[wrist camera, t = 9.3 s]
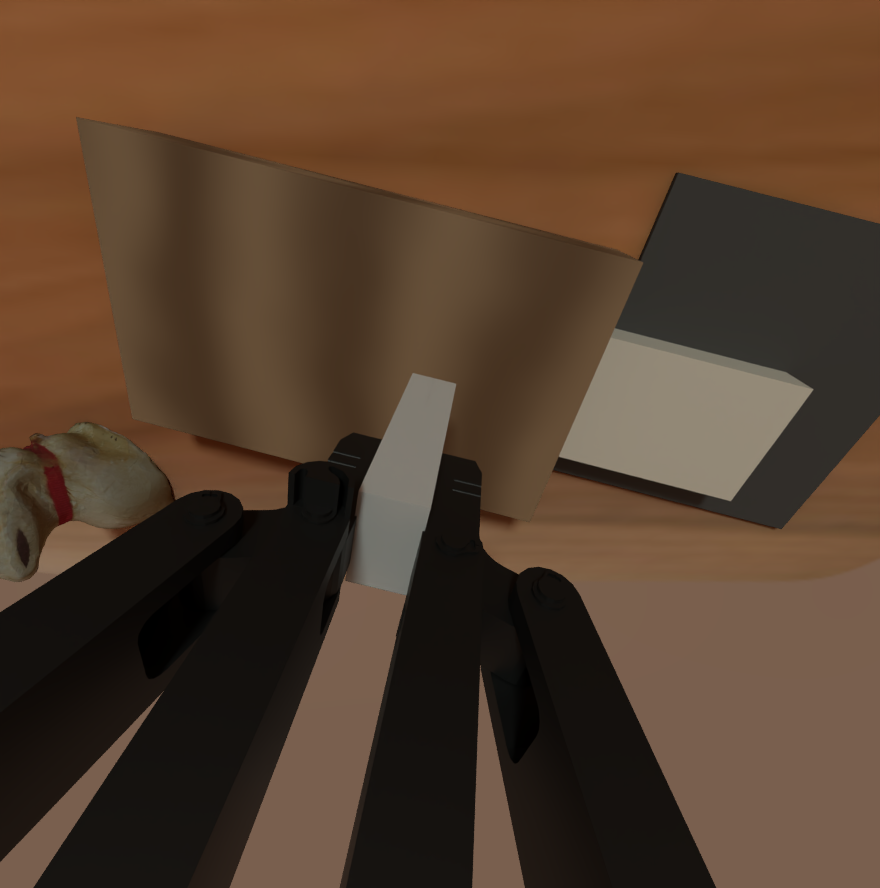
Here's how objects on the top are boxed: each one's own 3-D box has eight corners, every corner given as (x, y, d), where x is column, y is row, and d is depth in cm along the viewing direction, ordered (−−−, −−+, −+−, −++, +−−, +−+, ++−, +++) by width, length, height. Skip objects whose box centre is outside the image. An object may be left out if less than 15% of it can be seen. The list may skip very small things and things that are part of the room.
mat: (549, 466, 24) (550, 469, 23) (676, 173, 16) (678, 172, 16) (778, 525, 23) (781, 529, 23) (1006, 257, 16) (1015, 258, 16)
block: (546, 434, 22) (549, 454, 21) (591, 322, 19) (599, 334, 17) (713, 477, 22) (730, 501, 20) (786, 372, 19) (813, 389, 17)
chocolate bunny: (124, 404, 25) (-70, 510, 17) (187, 508, 29) (53, 637, 21) (52, 415, 27) (-163, 519, 18) (121, 513, 30) (-31, 638, 22)
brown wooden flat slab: (185, 387, 24) (132, 418, 21) (158, 132, 18) (76, 116, 15) (526, 475, 24) (529, 522, 21) (617, 249, 18) (643, 262, 14)
